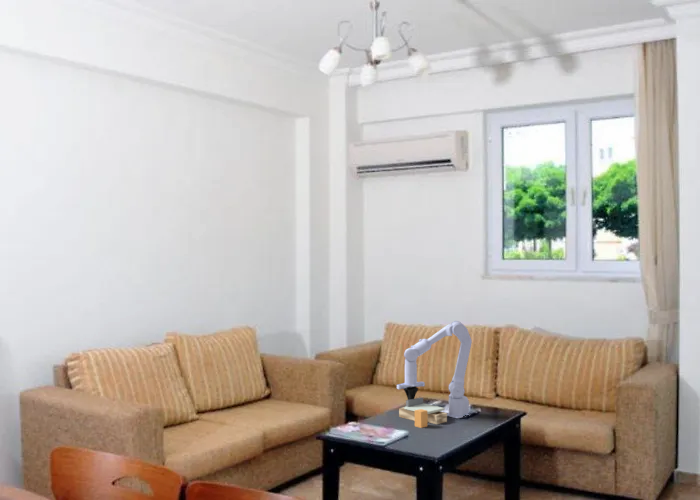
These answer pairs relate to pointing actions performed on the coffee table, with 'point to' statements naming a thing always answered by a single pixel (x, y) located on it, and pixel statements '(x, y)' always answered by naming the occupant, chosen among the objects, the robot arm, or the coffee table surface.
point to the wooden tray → (431, 418)
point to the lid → (421, 406)
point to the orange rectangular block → (421, 418)
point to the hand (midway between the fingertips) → (410, 403)
